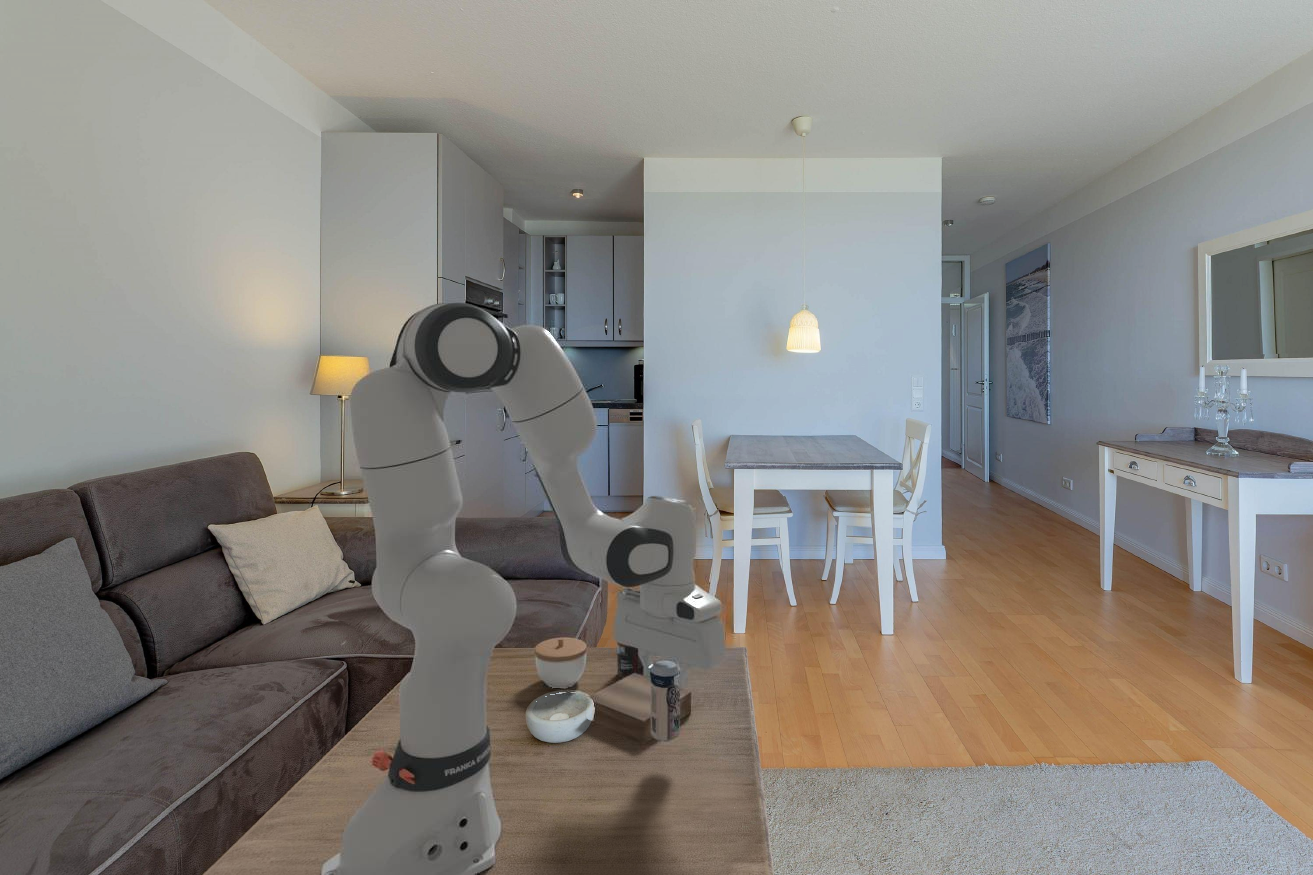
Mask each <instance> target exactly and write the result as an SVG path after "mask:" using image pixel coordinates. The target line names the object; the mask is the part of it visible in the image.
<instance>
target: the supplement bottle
mask: <svg viewBox="0 0 1313 875" xmlns="http://www.w3.org/2000/svg"><path fill="white" fill-rule="evenodd" d="M616 649H617V650H616V652H617V653H616V654H617V655H616V656H617V657H616V658H617V666H616V667H617V675H618V677H620V678H622V679H623V678H625V677H627V676H629V675H631V674H633V673H636V674H639V675H642V676H644V666H643V665H642V662H641V660H640V658H639V655H638V648H635V647H632V646H628V645H625V644H622V643H619V642H617V641H616Z"/></svg>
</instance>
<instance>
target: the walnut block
mask: <svg viewBox="0 0 1313 875" xmlns="http://www.w3.org/2000/svg"><path fill="white" fill-rule="evenodd" d="M588 697H590V698H591V699H592V700H593V702H594V707H595V714H594V721H593V722H592V723H594V724H597V725H599V726H600V727H601V726H602V727H604V728H606V729H609V730H611V731H614V732H616V733H618V734H621V735H623V736H626V737H627V738H630V739H632V740H635V741H637V742H639V743H642V744H646V743H647V742H649V741H651V739H653V738H654V737H653V736H652V735H651V678H649V677H646V676H644V675H643V676H642V675H639V674H636V673H633V674H631V675H629V676H627V677H625V678H622V679H619V680H617V681H616V682H614V683H612V684H610V685H608V686H606V687H604V688H603V689H601V690H598V691H597V692H594V693H593V694H591V695H589V696H588ZM691 713H692V691H689V690H687V689H685V688H683V689H681V688H680V721H681V720H682V719H684V718H685V717H687V716H688V715H690V714H691Z"/></svg>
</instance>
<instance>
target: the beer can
mask: <svg viewBox="0 0 1313 875" xmlns="http://www.w3.org/2000/svg"><path fill="white" fill-rule="evenodd" d="M679 673H681V668H680V664H679V663H678V662H677V660H673V659H670V658H660V659H658V660H654V661H653V666H652V668H651V735H652V736H653V738H654V739H656V740H657V741H660V742H663V743H664V742H671V741H674V740H675V739H677V738H679V737H680V735H681V720H680V688H678V687H675V686H674V676H675V675H678V674H679Z"/></svg>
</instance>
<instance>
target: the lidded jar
mask: <svg viewBox="0 0 1313 875" xmlns="http://www.w3.org/2000/svg"><path fill="white" fill-rule="evenodd" d="M587 648H588V647H587V644H586V643H585V642H584V641H583V640H581V639H578V638H574V637H555V638H550V639H549V638H548V639H546V640H543V641H541V642H539V643H537V645H536V646H535V647H534V655H535V666H536V671H537V674H538V676H539V677H540V679H541V681H542V682H544V683H545V684H546V686H547V685H548V686H549V687H548V686H547V687H548V688H550V687H552V688H551V689H553V688H560V687H562V688H563V687H566V688H563V689H562V690H564V689H565V690H566V689H569V688H571V687H573V686H575V685H576V683H577V681H579V680H580V678H581V677H582V675H583V674H584V671H585V668H586V662H587ZM568 687H569V688H568Z"/></svg>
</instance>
